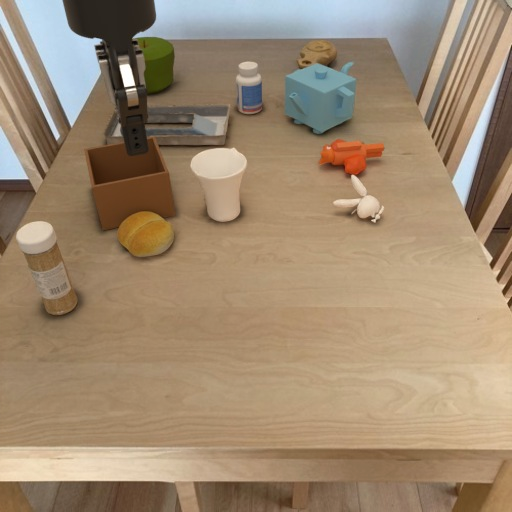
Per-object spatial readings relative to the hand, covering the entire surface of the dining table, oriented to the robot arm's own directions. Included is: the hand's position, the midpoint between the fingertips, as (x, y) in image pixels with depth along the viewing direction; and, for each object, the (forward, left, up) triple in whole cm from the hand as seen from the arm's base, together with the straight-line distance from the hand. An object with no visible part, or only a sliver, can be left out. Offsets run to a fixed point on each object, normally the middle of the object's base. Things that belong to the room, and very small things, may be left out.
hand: (137, 151), depth 57 cm
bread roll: (+13, +14, -27) cm, 33 cm away
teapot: (+61, +5, -27) cm, 67 cm away
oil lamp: (+85, +17, -27) cm, 91 cm away
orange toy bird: (+47, -7, -27) cm, 55 cm away
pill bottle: (+59, +21, -27) cm, 68 cm away
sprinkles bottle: (-4, +16, -27) cm, 32 cm away
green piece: (+58, +47, -27) cm, 79 cm away
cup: (+25, +7, -27) cm, 38 cm away
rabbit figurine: (+35, -13, -27) cm, 46 cm away
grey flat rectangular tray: (+43, +31, -27) cm, 60 cm away
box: (+20, +22, -27) cm, 40 cm away
